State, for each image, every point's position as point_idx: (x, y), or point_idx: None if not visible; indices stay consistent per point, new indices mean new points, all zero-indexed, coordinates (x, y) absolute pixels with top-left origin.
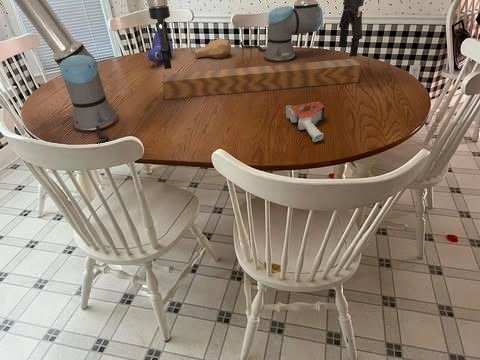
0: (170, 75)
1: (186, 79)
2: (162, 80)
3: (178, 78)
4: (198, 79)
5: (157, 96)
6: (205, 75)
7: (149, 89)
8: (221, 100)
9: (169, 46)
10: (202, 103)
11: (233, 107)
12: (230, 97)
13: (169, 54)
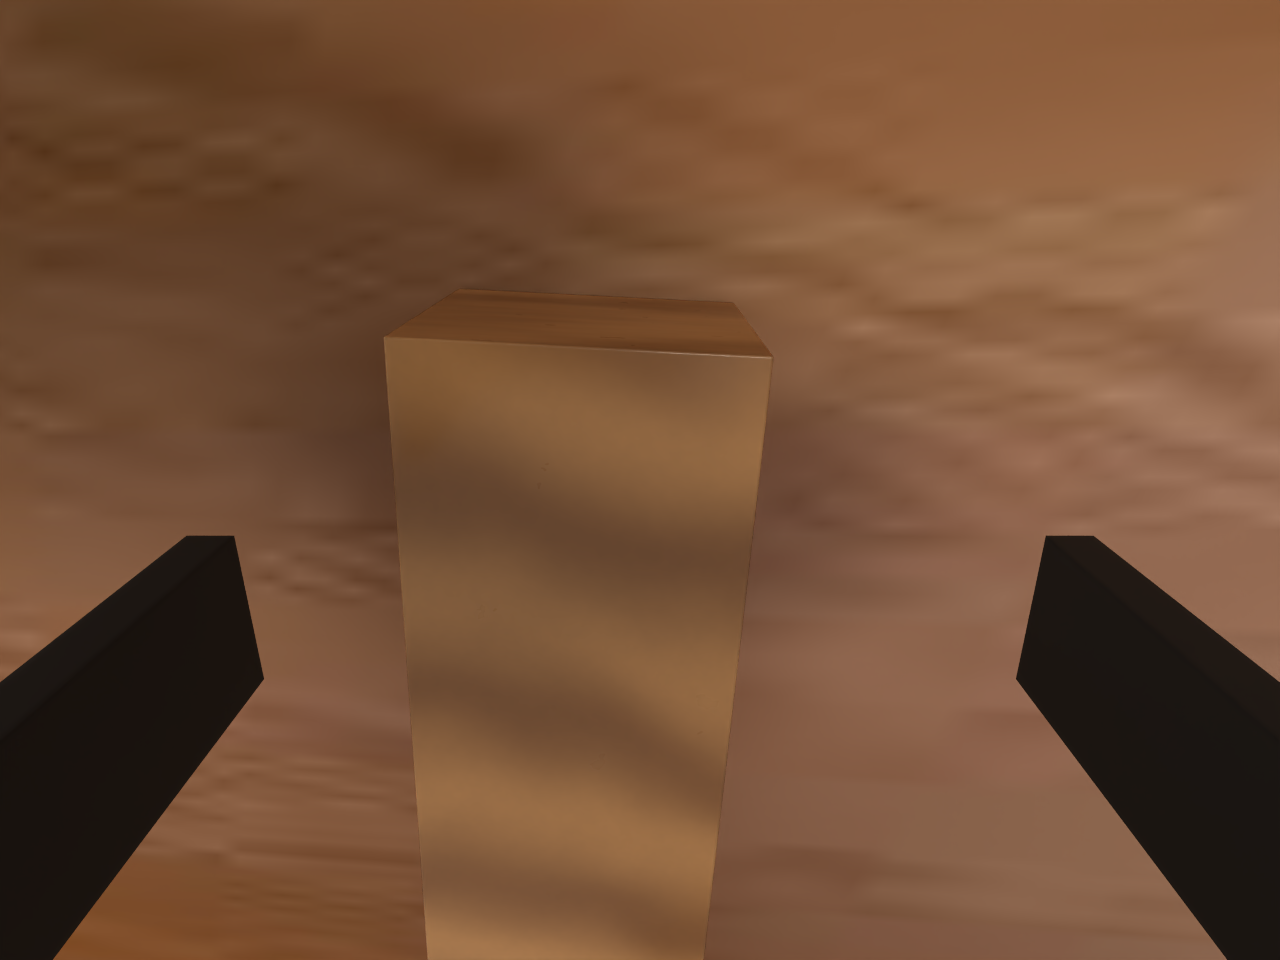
0: (672, 482)
1: (412, 716)
2: (441, 344)
3: (483, 608)
4: (423, 844)
5: (575, 168)
6: (521, 933)
7: (908, 12)
8: (318, 855)
9: (1208, 919)
10: (262, 699)
11: (148, 923)
12: (379, 923)
13: (1072, 698)
